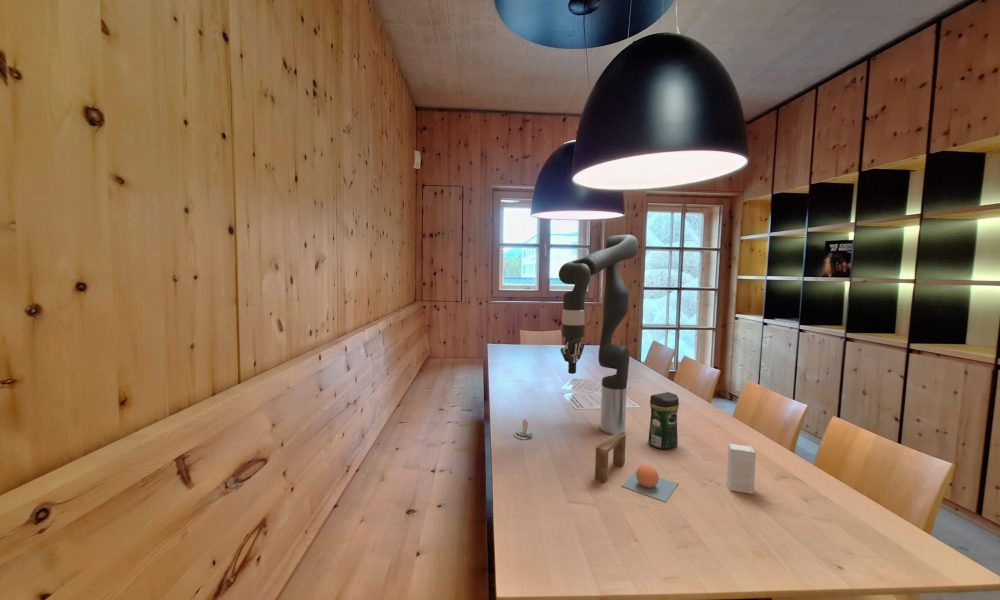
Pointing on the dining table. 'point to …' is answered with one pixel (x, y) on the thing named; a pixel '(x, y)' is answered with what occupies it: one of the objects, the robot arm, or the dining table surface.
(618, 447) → the bridge
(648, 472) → the ball
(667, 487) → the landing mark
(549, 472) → the dining table surface
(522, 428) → the pacifier
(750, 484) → the skincare box
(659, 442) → the coffee jar
